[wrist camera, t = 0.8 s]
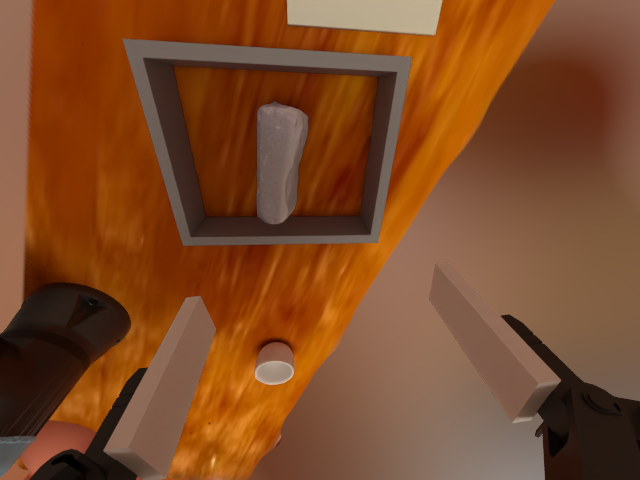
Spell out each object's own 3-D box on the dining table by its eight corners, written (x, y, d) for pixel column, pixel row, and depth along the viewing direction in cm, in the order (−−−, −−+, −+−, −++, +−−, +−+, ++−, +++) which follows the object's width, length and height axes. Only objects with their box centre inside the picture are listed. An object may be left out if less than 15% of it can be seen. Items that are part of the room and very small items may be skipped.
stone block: (267, 99, 29) (255, 99, 20) (307, 107, 29) (313, 110, 21) (261, 194, 34) (251, 226, 26) (295, 199, 35) (296, 231, 27)
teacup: (267, 332, 49) (264, 356, 44) (300, 342, 51) (301, 366, 47) (248, 360, 53) (243, 385, 48) (279, 368, 55) (278, 393, 51)
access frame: (198, 224, 36) (182, 245, 31) (157, 50, 25) (122, 38, 20) (366, 223, 38) (378, 242, 33) (390, 64, 28) (412, 57, 23)
